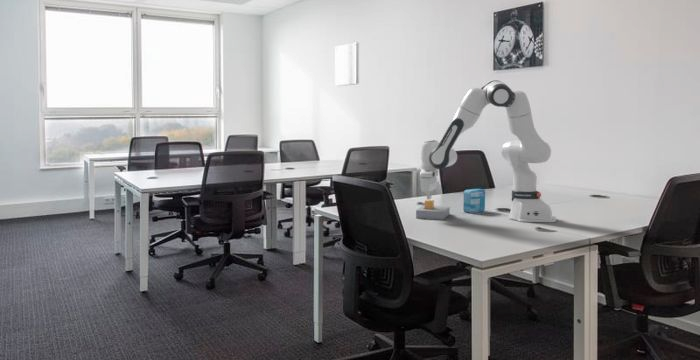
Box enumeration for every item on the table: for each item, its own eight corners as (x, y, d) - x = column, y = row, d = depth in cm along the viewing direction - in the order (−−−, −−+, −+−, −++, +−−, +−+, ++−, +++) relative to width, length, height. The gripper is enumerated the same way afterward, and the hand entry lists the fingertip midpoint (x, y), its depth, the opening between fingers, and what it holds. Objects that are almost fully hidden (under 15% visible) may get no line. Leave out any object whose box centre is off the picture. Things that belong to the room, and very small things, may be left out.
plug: (433, 215, 273) (434, 200, 272) (432, 216, 269) (432, 201, 268) (426, 214, 274) (426, 199, 273) (424, 216, 271) (424, 200, 270)
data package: (469, 213, 278) (469, 191, 276) (463, 212, 281) (463, 190, 280) (484, 211, 284) (485, 189, 283) (478, 209, 288) (479, 188, 287)
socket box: (449, 214, 276) (449, 206, 275) (443, 219, 261) (443, 211, 260) (423, 212, 281) (423, 205, 280) (416, 218, 266) (416, 210, 265)
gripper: (427, 170, 279) (427, 195, 281) (418, 173, 260) (418, 201, 262) (439, 170, 277) (439, 196, 279) (431, 174, 258) (431, 202, 260)
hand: (429, 198), depth 270 cm, fingers closed
